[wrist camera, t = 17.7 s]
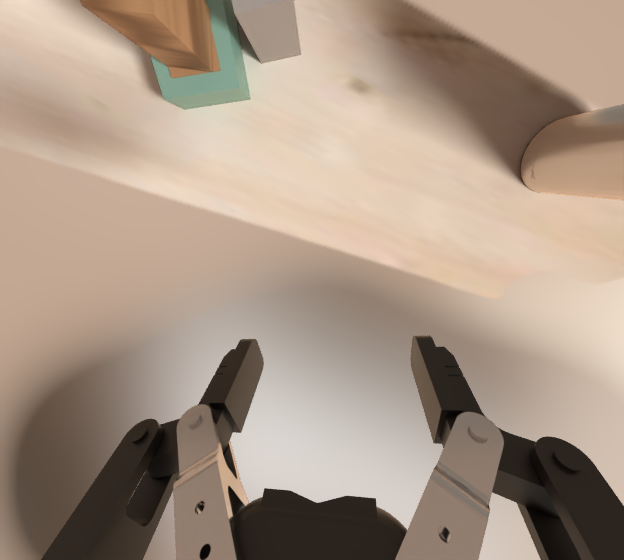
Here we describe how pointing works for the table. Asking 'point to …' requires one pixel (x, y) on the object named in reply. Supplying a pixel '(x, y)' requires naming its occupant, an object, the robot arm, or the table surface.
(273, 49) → the slate-grey block
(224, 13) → the teal base block
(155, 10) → the walnut block
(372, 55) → the table surface
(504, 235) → the table surface
